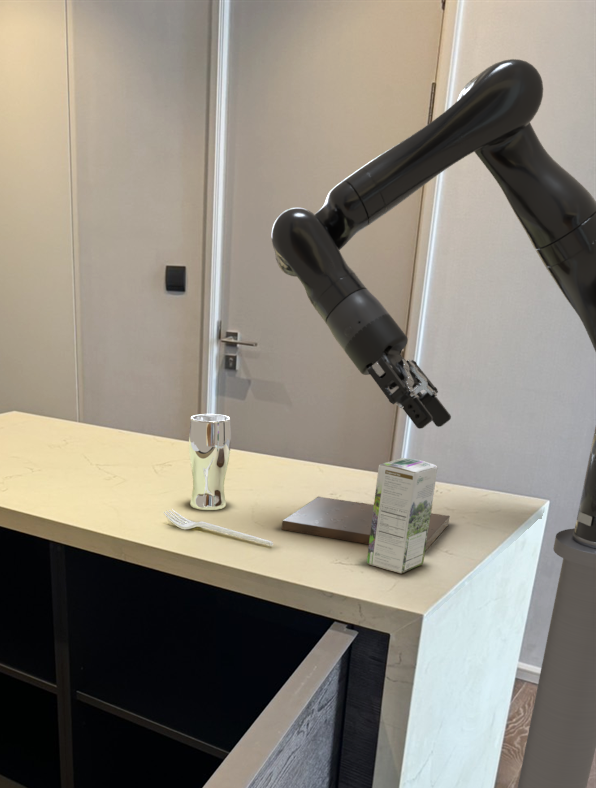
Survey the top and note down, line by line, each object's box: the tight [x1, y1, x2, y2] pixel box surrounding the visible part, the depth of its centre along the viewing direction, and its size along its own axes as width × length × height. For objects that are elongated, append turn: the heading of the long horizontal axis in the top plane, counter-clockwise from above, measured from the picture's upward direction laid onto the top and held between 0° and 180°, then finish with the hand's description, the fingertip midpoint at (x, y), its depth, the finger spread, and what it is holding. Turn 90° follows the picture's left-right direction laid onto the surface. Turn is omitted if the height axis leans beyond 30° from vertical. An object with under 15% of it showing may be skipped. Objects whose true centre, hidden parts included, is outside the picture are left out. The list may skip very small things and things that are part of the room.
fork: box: [162, 508, 274, 547], centre depth 133 cm, size 3×20×2 cm, turn 49°
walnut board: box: [281, 496, 451, 552], centre depth 136 cm, size 22×16×2 cm
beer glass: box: [188, 413, 232, 511], centre depth 145 cm, size 7×7×15 cm
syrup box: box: [366, 457, 439, 574], centre depth 118 cm, size 6×6×14 cm
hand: (436, 423), depth 116 cm, fingers open, 8 cm apart
